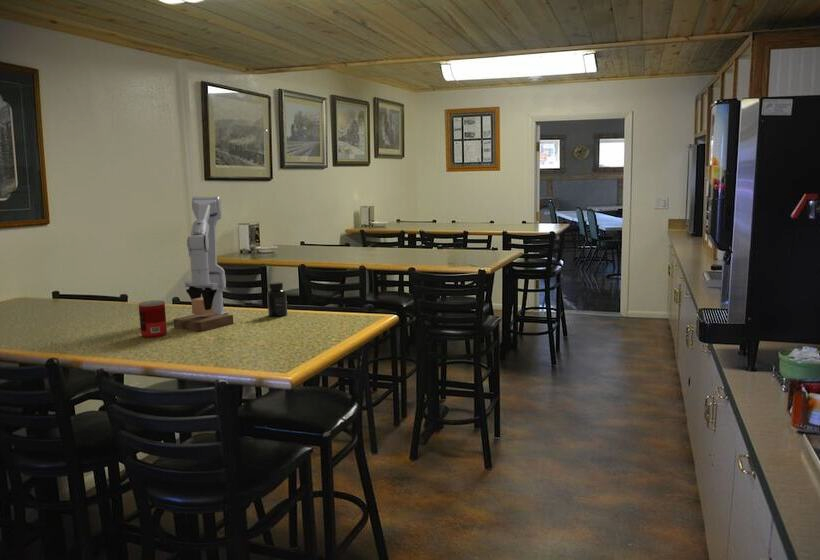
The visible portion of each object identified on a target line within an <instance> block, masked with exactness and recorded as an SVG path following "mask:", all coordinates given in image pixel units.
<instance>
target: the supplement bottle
mask: <svg viewBox="0 0 820 560" xmlns="http://www.w3.org/2000/svg"><path fill="white" fill-rule="evenodd" d="M268 284H269V287H268V288H269V290H268V291H267V292H266V293H267V296H266V297H267V308H268V309H267V310H268V312H267V313H268V316H269V317H273V318H279V317H285V316H287V315H288V304H287V292H286V290H285V289H284V285H283V282H281V281H279V282H270V283H268Z"/></svg>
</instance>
